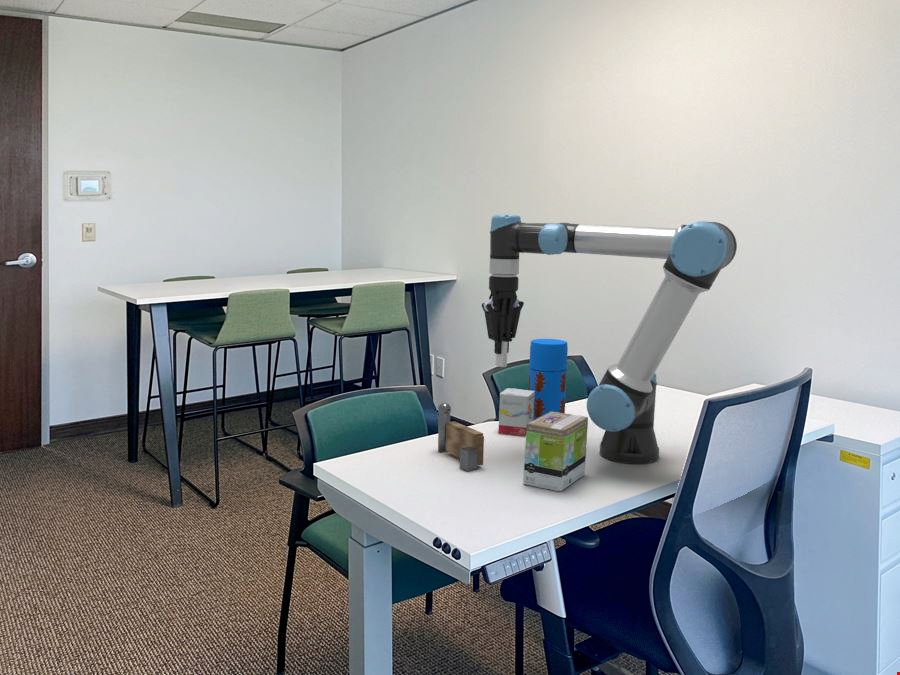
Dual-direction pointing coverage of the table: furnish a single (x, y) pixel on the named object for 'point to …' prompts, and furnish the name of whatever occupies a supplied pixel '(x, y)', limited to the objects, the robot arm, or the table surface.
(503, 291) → the robot arm
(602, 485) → the table surface
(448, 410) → the hinge post
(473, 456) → the block
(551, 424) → the tea box
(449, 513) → the table surface
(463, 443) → the gate
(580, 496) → the table surface
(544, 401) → the thermos
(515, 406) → the ink box
